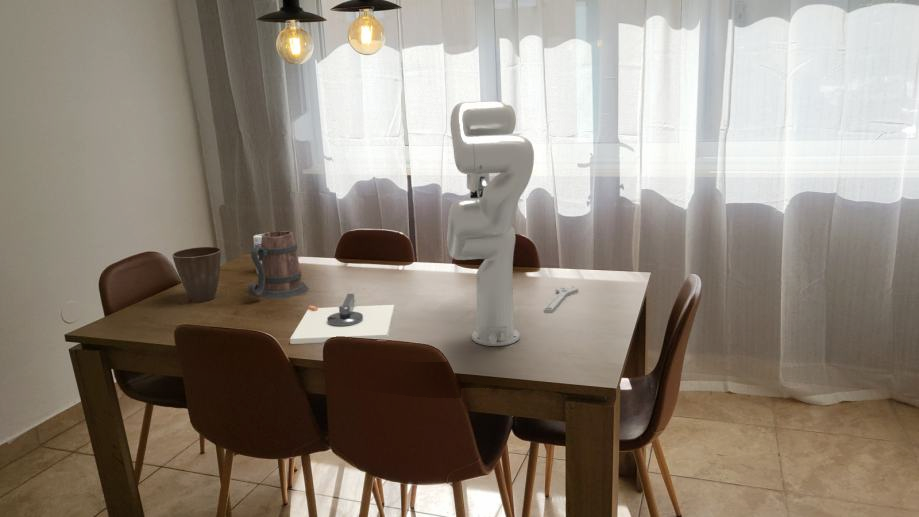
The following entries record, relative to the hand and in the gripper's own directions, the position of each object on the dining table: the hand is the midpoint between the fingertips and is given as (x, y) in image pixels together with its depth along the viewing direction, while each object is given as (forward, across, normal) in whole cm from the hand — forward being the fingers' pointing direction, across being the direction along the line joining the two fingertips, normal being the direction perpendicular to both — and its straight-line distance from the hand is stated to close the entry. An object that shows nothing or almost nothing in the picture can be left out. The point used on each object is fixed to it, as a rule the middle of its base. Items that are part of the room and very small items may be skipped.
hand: (479, 210), depth 204 cm
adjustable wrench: (+31, -1, +24) cm, 39 cm away
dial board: (+30, +2, -41) cm, 50 cm away
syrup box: (+31, -65, -68) cm, 99 cm away
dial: (+28, -1, -40) cm, 49 cm away
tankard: (+30, -35, -63) cm, 78 cm away
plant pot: (+30, -38, -87) cm, 99 cm away
